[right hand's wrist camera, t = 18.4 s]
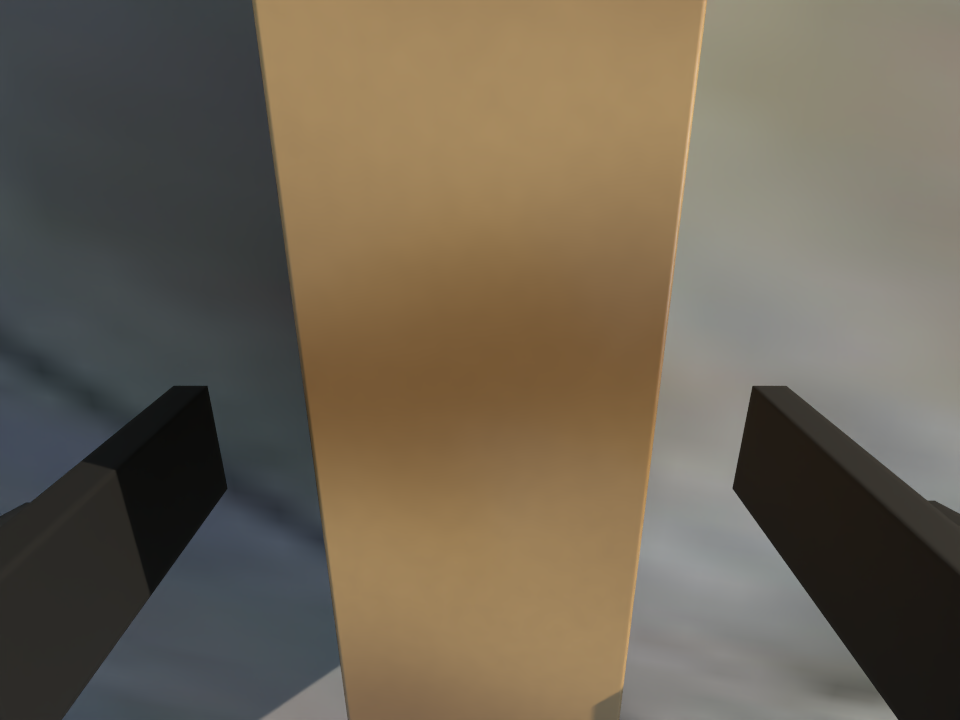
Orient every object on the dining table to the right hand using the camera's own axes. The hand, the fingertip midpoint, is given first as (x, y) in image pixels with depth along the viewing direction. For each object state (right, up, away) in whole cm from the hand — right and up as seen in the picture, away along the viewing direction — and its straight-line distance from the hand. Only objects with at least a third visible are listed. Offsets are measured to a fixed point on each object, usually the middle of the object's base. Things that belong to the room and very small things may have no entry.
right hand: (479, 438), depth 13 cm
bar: (0, +9, 0) cm, 9 cm away
